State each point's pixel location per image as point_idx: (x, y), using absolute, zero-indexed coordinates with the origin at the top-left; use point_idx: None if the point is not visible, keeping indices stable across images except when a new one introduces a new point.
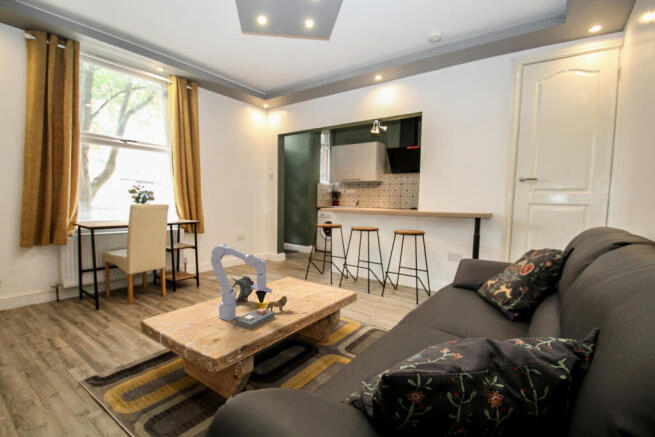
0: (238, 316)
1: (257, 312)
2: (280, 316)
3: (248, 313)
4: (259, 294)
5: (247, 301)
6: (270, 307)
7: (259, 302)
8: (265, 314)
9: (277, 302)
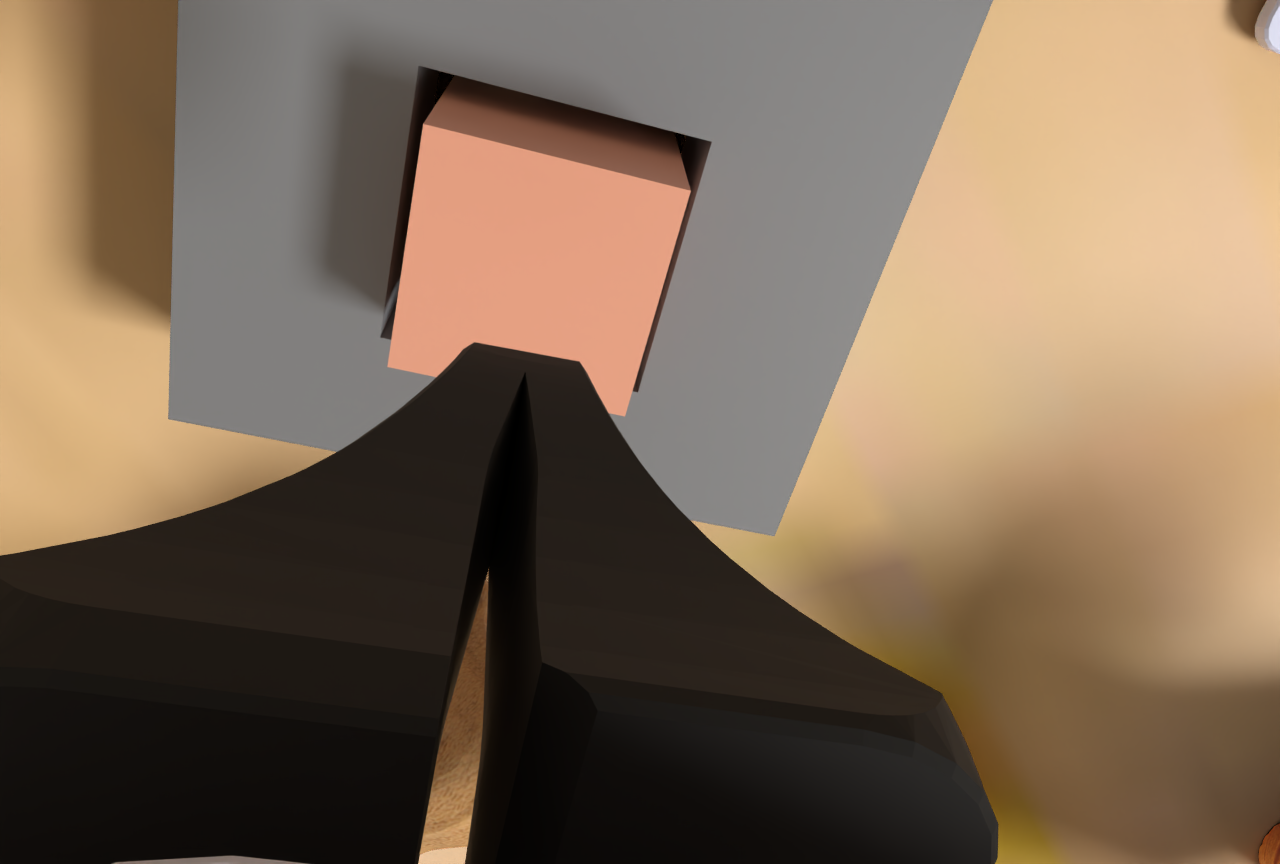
0: (1269, 4)
1: (636, 158)
2: (111, 435)
3: (956, 44)
4: (394, 587)
5: (1266, 847)
6: (484, 645)
7: (569, 366)
8: (322, 164)
9: None
